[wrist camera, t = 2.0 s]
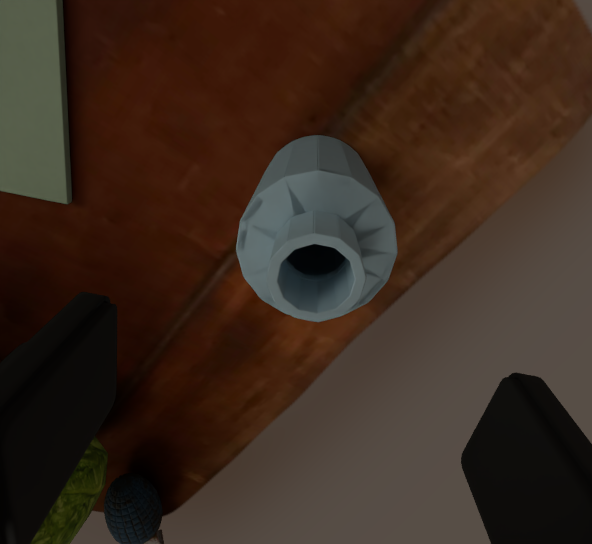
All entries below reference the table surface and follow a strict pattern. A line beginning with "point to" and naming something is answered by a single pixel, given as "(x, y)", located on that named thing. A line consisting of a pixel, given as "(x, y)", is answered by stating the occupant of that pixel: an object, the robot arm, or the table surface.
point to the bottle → (316, 232)
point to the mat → (34, 101)
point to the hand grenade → (133, 510)
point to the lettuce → (75, 498)
